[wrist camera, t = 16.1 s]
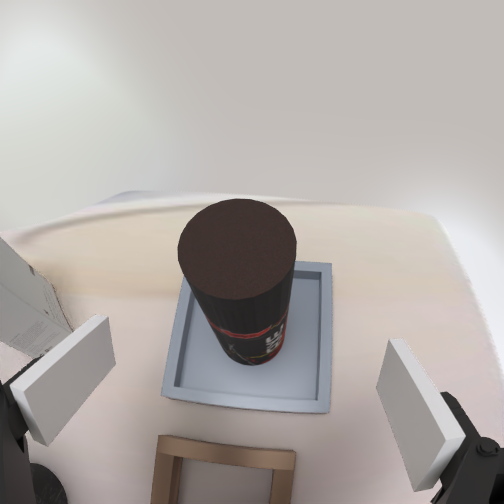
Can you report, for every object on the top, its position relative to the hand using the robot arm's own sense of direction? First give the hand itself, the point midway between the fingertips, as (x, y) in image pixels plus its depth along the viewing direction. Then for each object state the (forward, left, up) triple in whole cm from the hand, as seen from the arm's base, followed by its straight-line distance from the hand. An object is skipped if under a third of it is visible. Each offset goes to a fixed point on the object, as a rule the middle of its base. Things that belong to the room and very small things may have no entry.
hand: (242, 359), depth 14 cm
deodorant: (-1, +5, -14) cm, 15 cm away
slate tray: (-1, +5, -15) cm, 16 cm away
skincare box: (-25, +3, -15) cm, 29 cm away
